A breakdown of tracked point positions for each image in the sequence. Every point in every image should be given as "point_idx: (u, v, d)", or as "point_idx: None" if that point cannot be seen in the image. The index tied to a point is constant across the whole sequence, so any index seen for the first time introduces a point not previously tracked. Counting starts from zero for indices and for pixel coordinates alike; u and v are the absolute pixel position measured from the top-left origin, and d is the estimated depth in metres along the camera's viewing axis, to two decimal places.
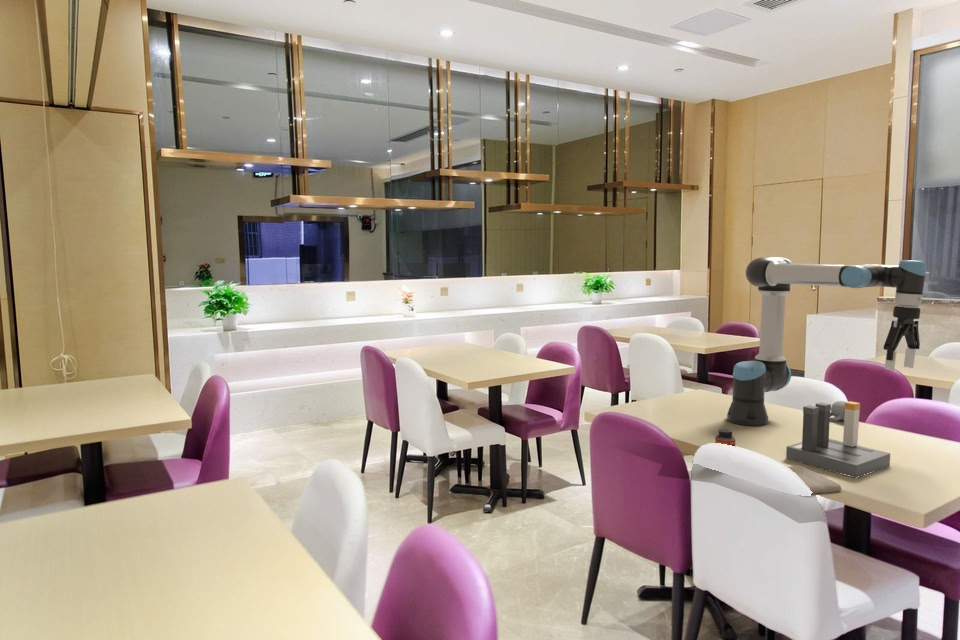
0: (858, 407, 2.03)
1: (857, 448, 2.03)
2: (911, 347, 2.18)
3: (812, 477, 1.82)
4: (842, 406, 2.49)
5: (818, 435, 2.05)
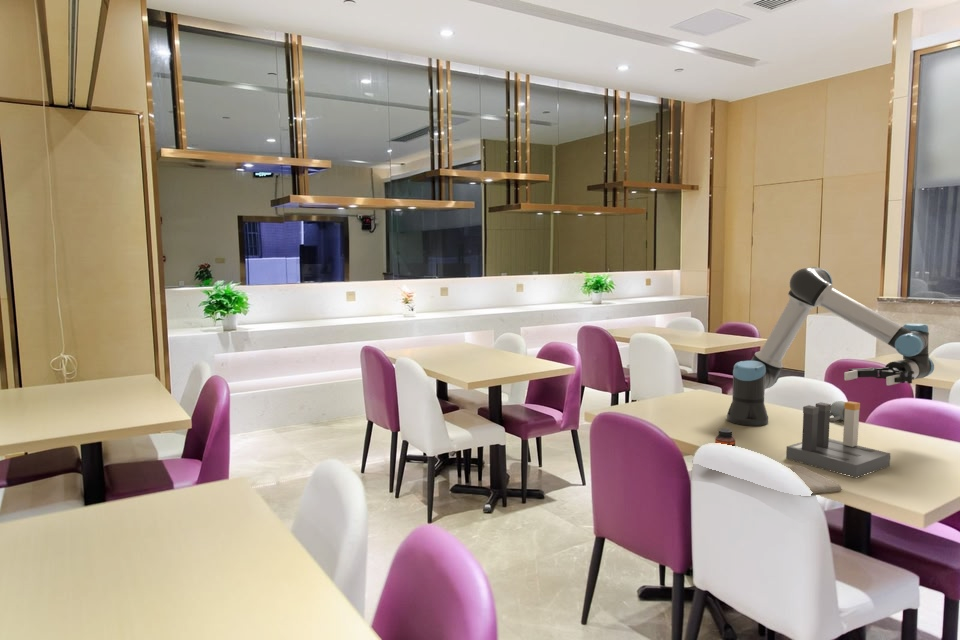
0: (858, 407, 2.03)
1: (857, 448, 2.03)
2: None
3: (812, 477, 1.82)
4: (841, 406, 2.49)
5: (818, 435, 2.05)
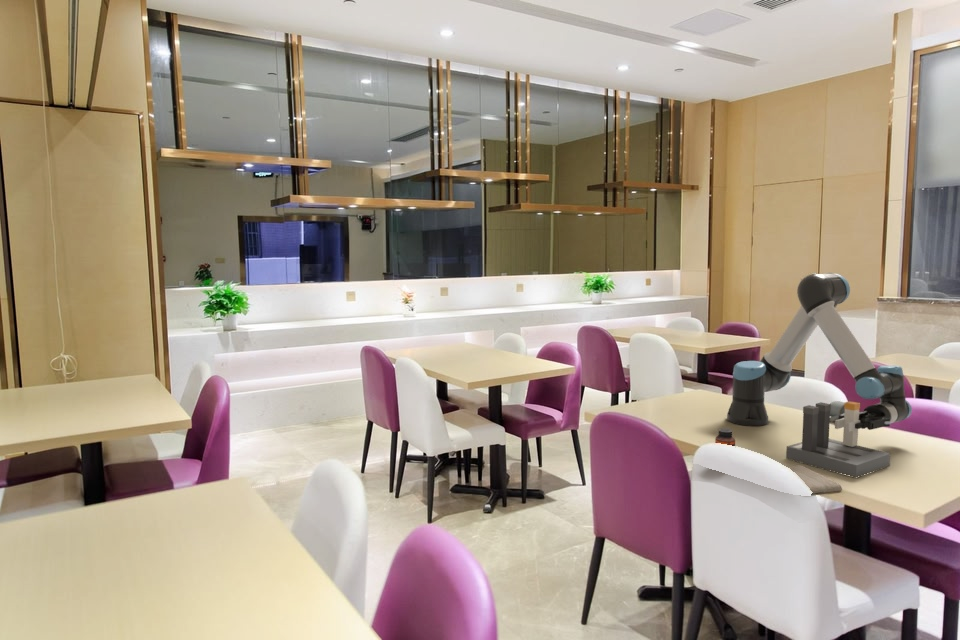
0: (858, 407, 2.03)
1: (857, 448, 2.03)
2: None
3: (812, 477, 1.83)
4: (838, 406, 2.49)
5: (818, 435, 2.05)
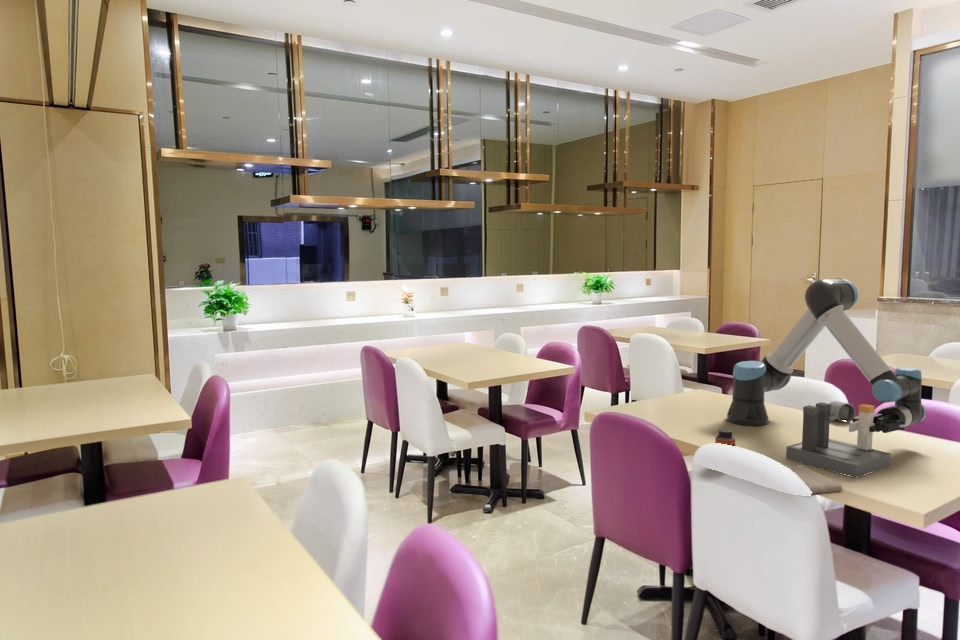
0: (872, 410, 2.00)
1: (857, 448, 2.03)
2: None
3: (812, 477, 1.83)
4: (837, 406, 2.49)
5: (818, 435, 2.05)
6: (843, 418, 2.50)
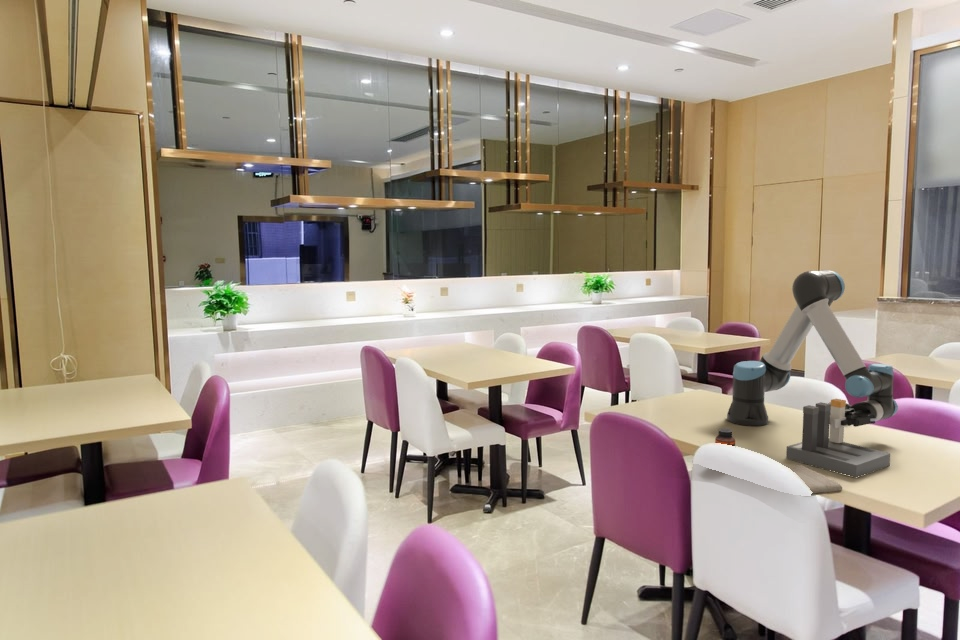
0: (844, 404, 2.07)
1: (857, 448, 2.03)
2: None
3: (813, 477, 1.83)
4: None
5: (818, 435, 2.05)
6: None
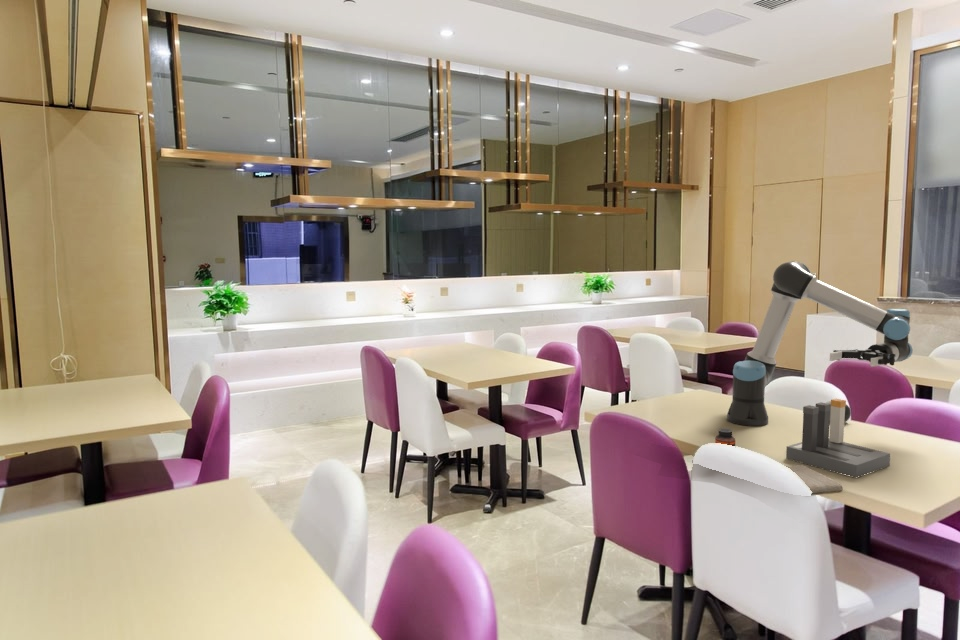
0: (844, 404, 2.07)
1: (857, 448, 2.03)
2: None
3: (813, 476, 1.83)
4: None
5: (818, 435, 2.05)
6: None
